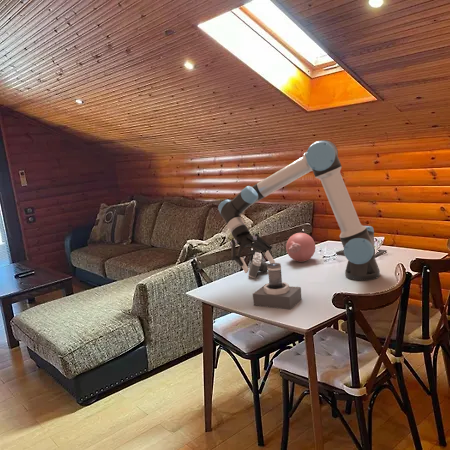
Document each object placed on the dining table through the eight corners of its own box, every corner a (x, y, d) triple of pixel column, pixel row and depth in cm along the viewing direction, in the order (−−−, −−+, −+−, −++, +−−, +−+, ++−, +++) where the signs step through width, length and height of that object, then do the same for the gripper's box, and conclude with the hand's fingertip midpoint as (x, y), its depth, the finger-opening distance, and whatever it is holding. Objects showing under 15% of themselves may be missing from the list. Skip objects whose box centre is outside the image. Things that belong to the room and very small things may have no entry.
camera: (246, 276, 218) (253, 257, 215) (248, 266, 233) (254, 248, 231) (264, 282, 217) (271, 263, 215) (264, 271, 233) (271, 254, 230)
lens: (285, 288, 183) (282, 262, 181) (280, 293, 178) (277, 266, 176) (272, 288, 185) (270, 262, 183) (267, 292, 181) (265, 266, 179)
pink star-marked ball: (276, 265, 235) (274, 237, 232) (297, 256, 249) (294, 229, 247) (302, 268, 225) (299, 239, 222) (321, 258, 239) (319, 230, 237)
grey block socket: (301, 298, 184) (300, 282, 182) (290, 309, 174) (288, 292, 172) (266, 295, 192) (265, 279, 191) (253, 305, 182) (252, 289, 181)
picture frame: (336, 255, 244) (370, 260, 228) (335, 252, 244) (370, 256, 228) (352, 248, 254) (386, 253, 238) (352, 245, 254) (386, 249, 238)
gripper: (259, 229, 209) (281, 265, 199) (212, 240, 198) (233, 279, 187) (264, 219, 204) (287, 256, 193) (216, 229, 192) (238, 269, 182)
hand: (260, 267), depth 190 cm, fingers open, 13 cm apart
